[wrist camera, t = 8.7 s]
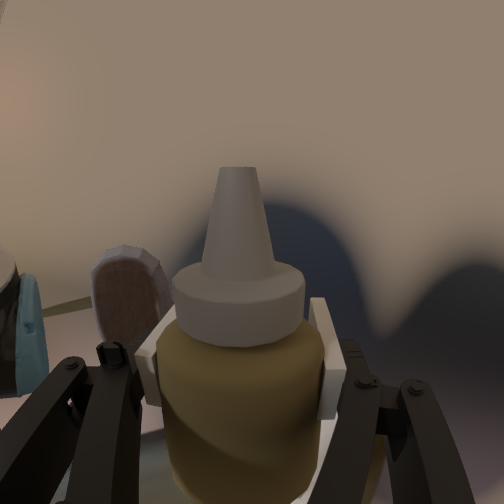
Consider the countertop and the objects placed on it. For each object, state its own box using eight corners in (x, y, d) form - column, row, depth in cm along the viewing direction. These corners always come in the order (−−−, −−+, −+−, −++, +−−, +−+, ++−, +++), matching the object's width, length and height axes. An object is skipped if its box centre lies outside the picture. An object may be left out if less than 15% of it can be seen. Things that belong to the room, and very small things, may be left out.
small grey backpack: (98, 361, 44) (75, 251, 39) (110, 338, 52) (94, 240, 47) (179, 364, 46) (166, 248, 41) (182, 339, 54) (174, 236, 49)
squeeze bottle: (206, 432, 19) (184, 172, 14) (314, 450, 17) (352, 173, 12) (160, 513, 11) (56, 177, 6) (296, 546, 9) (391, 165, 5)
